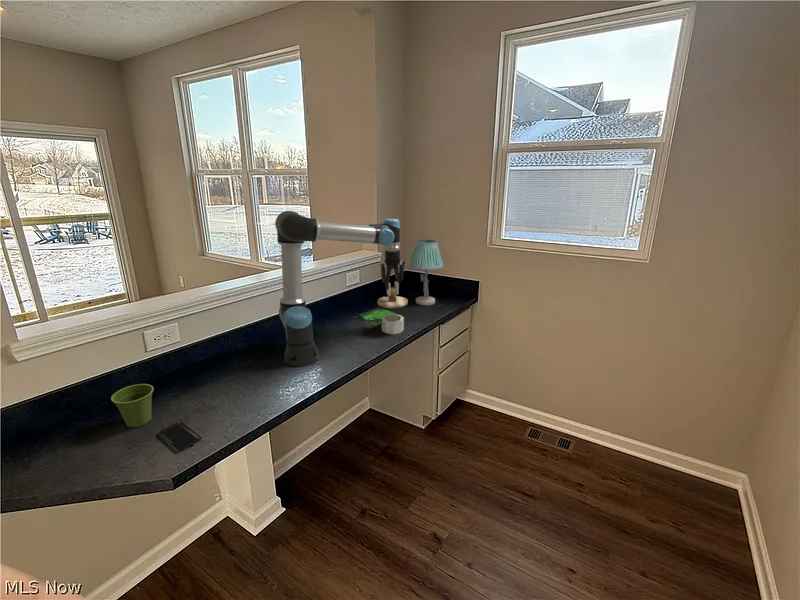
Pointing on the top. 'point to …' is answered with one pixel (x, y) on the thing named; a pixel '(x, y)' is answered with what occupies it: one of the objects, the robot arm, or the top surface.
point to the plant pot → (134, 404)
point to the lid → (392, 300)
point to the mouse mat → (375, 316)
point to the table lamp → (426, 265)
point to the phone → (179, 436)
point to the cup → (392, 324)
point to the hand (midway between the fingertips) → (392, 294)
